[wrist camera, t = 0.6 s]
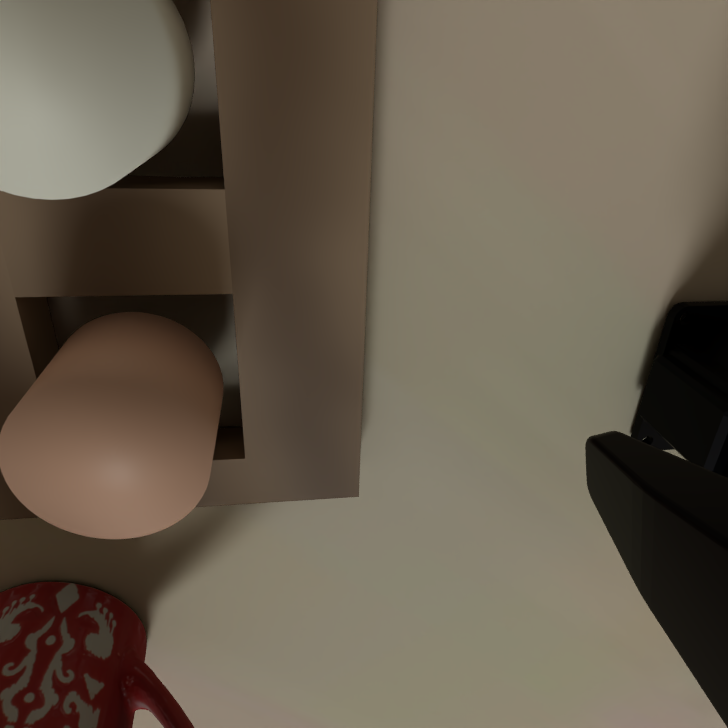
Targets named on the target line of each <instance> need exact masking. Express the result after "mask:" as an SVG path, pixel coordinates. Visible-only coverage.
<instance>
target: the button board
mask: <svg viewBox="0 0 728 728" xmlns="http://www.w3.org/2000/svg"><path fill="white" fill-rule="evenodd" d="M210 3H211V17H212V30H213V43H214V56H215V69H216V82H217V95H218V108H219V121H220V134H221V148H222V161H223V174H224V177H169V176H124V177H123V178H122V179H120V180H119V181H117V182H116V183H114V184H112V185H110V186H108V187H106V188H105V189H103V190H101V191H98V192H95V193H92V194H89V195H86V196H81V197H76V198H71V199H58V200H47V199H33V198H28V197H23V196H17V195H13V194H10V193H7V192H4V191H0V433H1V430H2V427H3V425H4V423H5V421H6V419H7V417H8V416H9V415H10V413H11V412H12V411H13V409H14V408H15V407H16V405H17V404H18V403H19V402H20V400H21V399H22V398H23V396H24V395H25V394H26V393H27V391H28V390H29V389H30V387H31V386H32V385H33V383H34V382H35V381H36V380H37V378H38V377H39V376H40V374H41V373H42V372H43V371H44V369H45V368H46V367H47V365H48V364H49V363H50V361H51V360H52V359H53V358H54V356H55V355H56V354H57V352H58V351H59V349H58V345H57V341H56V337H55V332H54V328H53V324H52V320H51V315H50V311H49V307H48V303H47V298H46V297H65V296H131V295H197V294H233V305H234V318H235V331H236V344H237V357H238V370H239V383H240V396H241V410H242V423H243V427H225V428H218V430H217V436H216V443H215V449H214V455H213V461H212V467H211V473H210V479H209V482H208V486H207V489H206V491H205V493H204V495H203V497H202V498H201V500H200V501H199V503H198V504H197V505H196V507H206V506H221V505H237V504H252V503H267V502H283V501H298V500H314V499H329V498H345V497H359V475H360V449H361V422H362V396H363V370H364V343H365V317H366V290H367V264H368V238H369V211H370V185H371V158H372V132H373V106H374V79H375V53H376V27H377V0H210ZM36 517H38V516H37V515H35V514H34V513H33V512H31V511H30V510H29V509H27V508H26V507H25V506H24V505H23V504H22V503H21V502H20V501H19V500H18V499H17V497H16V496H15V495H14V494H13V492H12V491H11V490H10V488H9V486H8V485H7V483H6V481H5V479H4V477H3V474H2V472H1V469H0V520H5V519H20V518H36Z"/></svg>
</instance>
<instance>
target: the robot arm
mask: <svg viewBox="0 0 728 728" xmlns="http://www.w3.org/2000/svg"><path fill="white" fill-rule="evenodd" d="M684 313H686V315H685V317H684V318H683V319H682V320H680V318H681V316H682V315H683V314H684ZM645 437H646V438H645ZM644 438H645V439H644ZM643 439H644V440H643ZM585 449H586V476H587V486H588V490H589V493H590V496H591V498H592V500H593V502H594V504H595V506H596V508H597V510H598V512H599V514H600V516H601V518H602V520H603V522H604V524H605V526H606V528H607V530H608V532H609V534H610V536H611V538H612V540H613V542H614V544H615V545H616V547H617V549H618V551H619V553H620V555H621V557H622V559H623V561H624V563H625V565H626V567H627V569H628V571H629V573H630V575H631V577H632V579H633V581H634V583H635V584H636V586H637V588H638V590H639V592H640V594H641V595H642V597H643V598H644V600H645V602H646V603H647V605H648V607H649V608H650V610H651V611H652V613H653V614H654V616H655V617H656V619H657V621H658V622H659V624H660V625H661V627H662V628H663V630H664V631H665V633H666V634H667V636H668V637H669V639H670V640H671V642H672V643H673V645H674V647H675V648H676V650H677V651H678V653H679V654H680V656H681V657H682V659H683V660H684V662H685V663H686V665H687V666H688V668H689V669H690V671H691V673H692V674H693V676H694V677H695V679H696V680H697V682H698V683H699V685H700V686H701V688H702V689H703V691H704V692H705V694H706V695H707V697H708V699H709V700H710V702H711V703H712V705H713V706H714V708H715V709H716V711H717V712H718V714H719V715H720V717H721V718H722V720H723V721H724V723H725V725H726V726H727V728H728V301H714V302H681V303H678V304H676V305H674V306H673V307H672V308H671V309H670V311H669V313H668V315H667V318H666V321H665V325H664V328H663V331H662V335H661V338H660V341H659V345H658V348H657V351H656V355H655V358H654V361H653V365H652V368H651V371H650V375H649V378H648V381H647V385H646V388H645V391H644V395H643V398H642V401H641V405H640V408H639V411H638V415H637V418H636V421H635V425H634V428H633V431H632V434H631V437H630V436H628V435H625V434H623V433H621V432H617V431H610V432H606V433H602V434H598V435H594V436H591V437H589V438H588V439H587V441H586V446H585ZM671 449H675V450H676V451H677V452H678V453H679V454H681V455H682V456H683V457H684V458H685V459H686V460H684V459H682V458H680V457H677V456H675V455H672V454H670V453H668V452H665V451H663V450H671Z"/></svg>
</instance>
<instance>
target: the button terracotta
mask: <svg viewBox="0 0 728 728" xmlns="http://www.w3.org/2000/svg"><path fill="white" fill-rule="evenodd" d="M223 392H224V387H223V378H222V373H221V370H220V367H219V364H218V362H217V360H216V358H215V356H214V355H213V353H212V352H211V350H210V349H209V347H208V346H207V345H206V344H205V343H204V342H203V341H202V340H201V339H200V338H199V337H198V336H197V335H196V334H195V333H193V332H192V331H190V330H189V329H187V328H186V327H185V326H183V325H181V324H179V323H177V322H175V321H173V320H170V319H168V318H165V317H162V316H158V315H155V314H150V313H143V312H119V313H113V314H108V315H105V316H102V317H99V318H96V319H94V320H92V321H90V322H88V323H86V324H84V325H83V326H81V327H80V328H79V329H77V330H76V331H75V332H74V333H73V334H72V335H71V336H70V337H69V338H68V340H67V341H66V342H65V343H64V345H63V346H62V347H61V349H60V350H59V351H58V352H57V354H56V355H55V356H54V358H53V359H52V360H51V361H50V363H49V364H48V365H47V367H46V368H45V369H44V371H43V372H42V373H41V374H40V376H39V377H38V378H37V380H36V381H35V382H34V383H33V385H32V386H31V387H30V389H29V390H28V391H27V393H26V394H25V395H24V396H23V398H22V399H21V400H20V402H19V403H18V404H17V405H16V407H15V408H14V409H13V411H12V412H11V413H10V415H9V416H8V417H7V419H6V421H5V423H4V425H3V427H2V430H1V433H0V469H1V472H2V474H3V477H4V479H5V481H6V483H7V485H8V486H9V488H10V490H11V491H12V492H13V494H14V495H15V496H16V497H17V499H18V500H19V501H20V502H21V503H22V504H23V505H24V506H25V507H26V508H27V509H29V510H30V511H31V512H33V513H34V514H35V515H37V516H38V517H40V518H41V519H43V520H45V521H46V522H48V523H50V524H52V525H54V526H56V527H58V528H60V529H63V530H66V531H69V532H71V533H75V534H79V535H82V536H87V537H93V538H100V539H128V538H136V537H141V536H146V535H150V534H153V533H156V532H159V531H161V530H163V529H166V528H168V527H170V526H172V525H173V524H175V523H177V522H178V521H180V520H181V519H183V518H184V517H185V516H186V515H188V514H189V513H190V512H191V511H192V510H193V509H194V508H195V507H196V505H197V504H198V503H199V501H200V500H201V498H202V497H203V495H204V493H205V491H206V489H207V486H208V482H209V479H210V473H211V467H212V461H213V455H214V449H215V443H216V436H217V430H218V424H219V418H220V412H221V406H222V400H223Z"/></svg>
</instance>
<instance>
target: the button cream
mask: <svg viewBox="0 0 728 728" xmlns="http://www.w3.org/2000/svg"><path fill="white" fill-rule="evenodd" d="M194 82H195V69H194V58H193V52H192V47H191V43H190V39H189V36H188V32H187V30H186V27H185V25H184V22H183V20H182V17H181V15H180V13H179V12H178V10H177V8H176V6H175V4H174V2H173V1H172V0H0V191H4V192H7V193H10V194H13V195H17V196H23V197H28V198H33V199H47V200H58V199H71V198H76V197H81V196H86V195H89V194H92V193H95V192H98V191H101V190H103V189H105V188H106V187H108V186H110V185H112V184H114V183H116V182H117V181H119V180H120V179H122V178H123V177H124V176H126V175H127V174H129V173H130V172H131V171H133V170H134V169H136V168H137V167H139V166H140V165H141V164H143V163H144V162H146V161H147V160H148V159H150V158H151V157H153V156H154V155H156V154H157V153H158V152H160V151H161V150H162V149H164V148H165V147H166V146H167V145H168V144H169V143H170V142H171V141H172V140H173V138H174V137H175V136H176V134H177V133H178V132H179V130H180V129H181V127H182V125H183V123H184V121H185V119H186V117H187V114H188V112H189V109H190V106H191V102H192V97H193V93H194Z"/></svg>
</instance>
